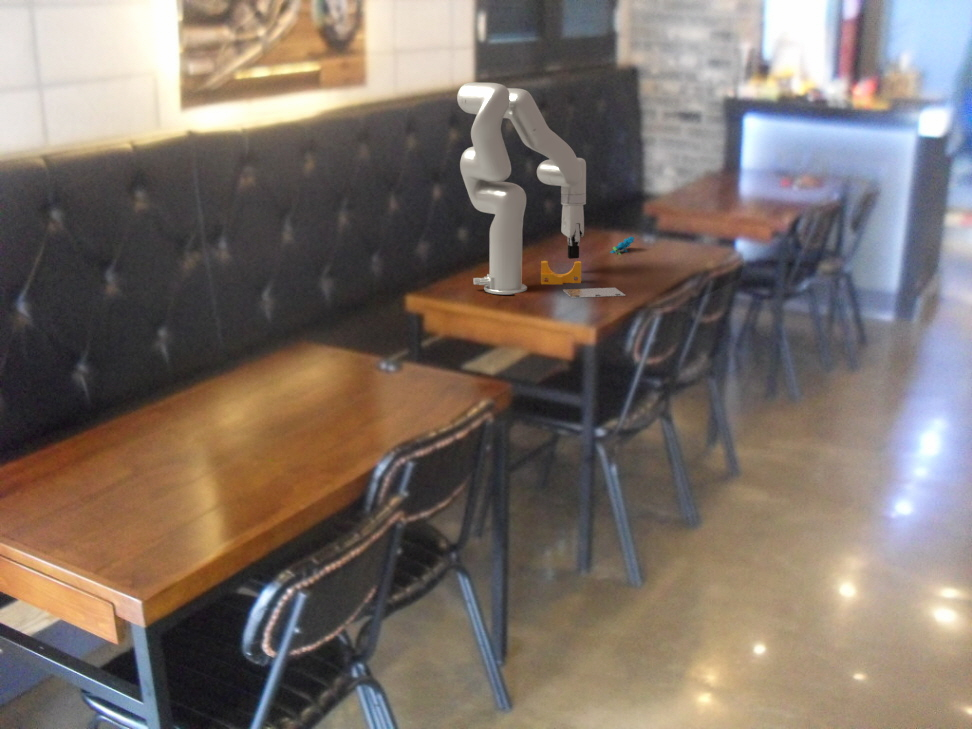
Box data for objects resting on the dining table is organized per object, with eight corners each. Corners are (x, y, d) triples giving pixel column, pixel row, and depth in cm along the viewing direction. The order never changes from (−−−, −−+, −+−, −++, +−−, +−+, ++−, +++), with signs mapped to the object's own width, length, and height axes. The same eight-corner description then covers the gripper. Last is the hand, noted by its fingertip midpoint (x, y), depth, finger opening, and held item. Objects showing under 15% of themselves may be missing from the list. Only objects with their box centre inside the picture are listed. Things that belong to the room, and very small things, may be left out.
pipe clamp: (541, 284, 316) (541, 263, 314) (540, 281, 320) (541, 260, 318) (581, 285, 315) (581, 264, 313) (580, 282, 319) (581, 261, 318)
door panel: (571, 297, 298) (571, 296, 298) (562, 290, 308) (562, 289, 308) (625, 295, 301) (625, 294, 301) (614, 288, 311) (614, 287, 311)
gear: (618, 251, 362) (636, 232, 356) (628, 265, 361) (647, 246, 355) (601, 256, 354) (620, 237, 348) (612, 270, 352) (631, 250, 346)
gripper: (555, 196, 328) (555, 253, 333) (567, 203, 314) (567, 263, 319) (578, 194, 329) (578, 252, 335) (592, 202, 315) (591, 262, 321)
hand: (573, 257), depth 327 cm, fingers closed
